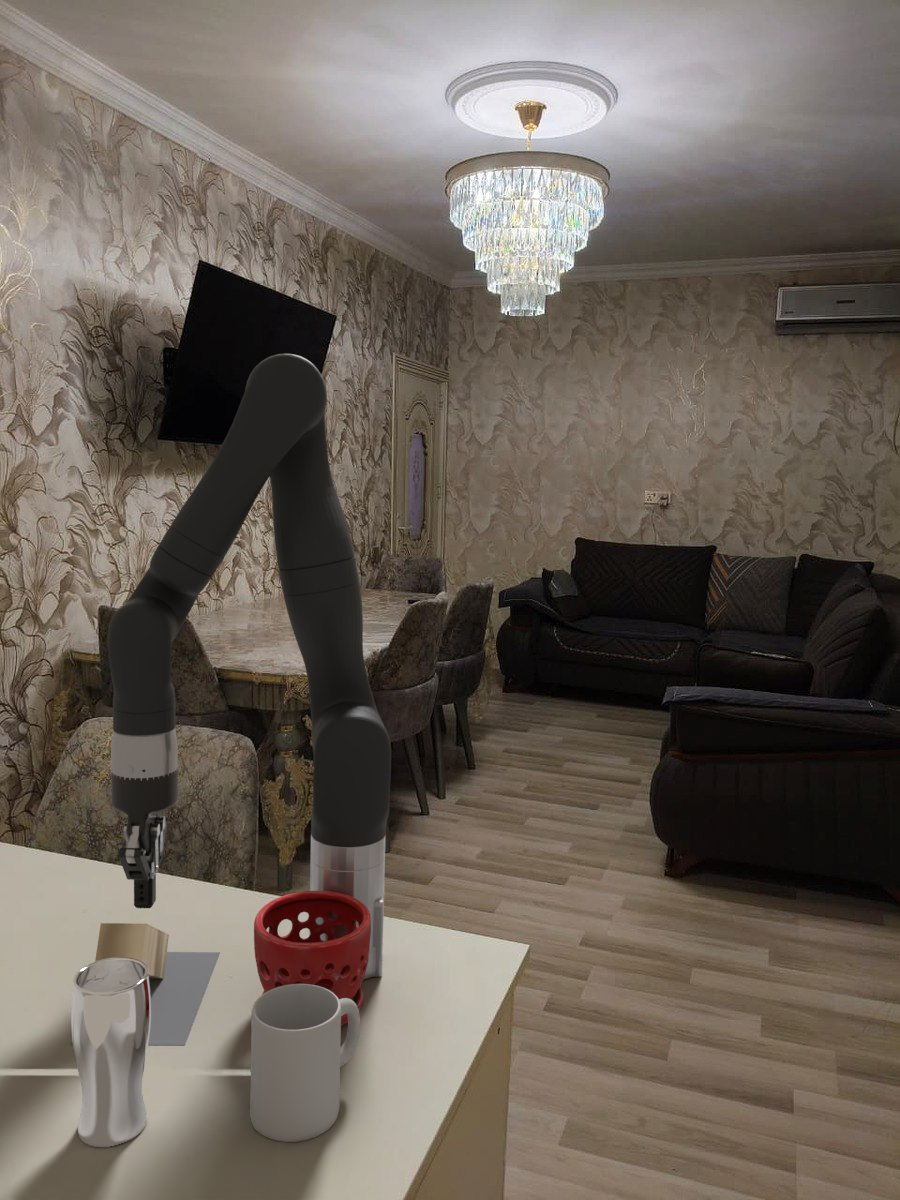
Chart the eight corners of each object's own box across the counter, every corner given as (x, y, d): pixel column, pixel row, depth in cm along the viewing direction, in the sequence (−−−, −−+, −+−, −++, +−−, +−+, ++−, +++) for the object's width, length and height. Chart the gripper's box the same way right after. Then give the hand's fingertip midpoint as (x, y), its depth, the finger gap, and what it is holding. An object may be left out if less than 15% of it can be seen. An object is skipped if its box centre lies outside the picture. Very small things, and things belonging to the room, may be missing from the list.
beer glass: (85, 1102, 92) (83, 956, 90) (158, 1100, 93) (158, 955, 91) (62, 1152, 85) (60, 995, 83) (142, 1150, 86) (141, 994, 84)
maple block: (169, 933, 116) (146, 922, 105) (163, 978, 114) (140, 971, 103) (127, 933, 116) (101, 921, 105) (121, 978, 114) (93, 971, 103)
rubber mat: (220, 956, 121) (220, 952, 121) (184, 1049, 101) (184, 1045, 101) (124, 955, 120) (124, 951, 120) (69, 1049, 100) (69, 1044, 100)
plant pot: (244, 993, 112) (245, 896, 111) (351, 976, 117) (353, 883, 116) (264, 1056, 100) (265, 949, 99) (383, 1034, 105) (386, 931, 104)
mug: (285, 1157, 86) (287, 1043, 84) (232, 1112, 91) (232, 1004, 90) (384, 1097, 94) (387, 994, 93) (329, 1060, 100) (331, 961, 99)
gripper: (162, 784, 106) (162, 931, 108) (189, 750, 119) (189, 883, 121) (93, 782, 105) (95, 930, 108) (128, 749, 119) (129, 882, 121)
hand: (145, 905), depth 114 cm, fingers closed
